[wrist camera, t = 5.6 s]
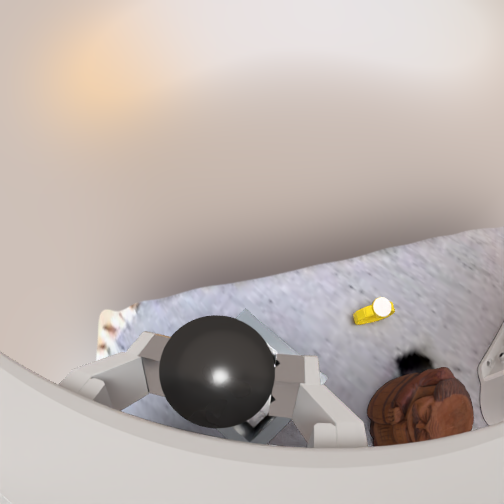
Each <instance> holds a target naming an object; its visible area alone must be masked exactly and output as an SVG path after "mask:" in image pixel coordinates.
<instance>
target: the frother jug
mask: <svg viewBox="0 0 504 504" xmlns="http://www.w3.org/2000/svg"><path fill="white" fill-rule="evenodd" d="M235 319H238V320H240V321H242V322H244V323H246V324H248V325H249V326H251V327H252V328H253V329H255V330H256V331H257V332H258V333H259V334H260V335H261V336H262V338H263V339H264V340H265V342H266V343H267V345H268V347H269V349H270V351H271V353H272V356H273V360H274V364H275V362H276V355H277V353H279V354H290V355H300V354H298V353H297V352H296V351H295V350H294V349H292V348H291V347H290V346H289V345H288V344H286V343H285V342H284V341H283V340H282V339H280V338H279V337H278V336H277V335H276V334H274V333H273V332H272V331H271V330H270V329H269V328H267V327H266V326H265V325H264V324H263V323H262V322H260V321H259V320H258V319H257V318H256V317H255V316H254V315H252V314H251V313H250V312H249V311H248V310H247V309H246V308H245V309H244V310H243V311H242V312H241V313H240V314H239V315H238V316H237V317H236V318H235ZM319 373H320V384H321V385H323V384H324V383H325V381H326V380H327V379H328V377H327V376H325V375H324V374H323V373H322V372H320V371H319ZM291 419H292V418H285V417H277V416H269V413H268V414H267V415H266V416H265V417H264V418H263V419H262V420H261V421H260V422H259V423H258V424H257V425H256V426H255V427H254V428H253V427H252V426H251V425H250V424H249V423H248V422H246V421H245V422H243V423H241V424H239V425H236V426H233V427H228V428H216V429H217V430H218V431H219V432H220V433H221V434H222V435H223V436H224V437H226V438H227V439H230V440H236V441H243V442H250V443H258V444H267V443H268V442H269V441H270V440H272V439H273V438H274V437H275V436H276V435H277V434H278V433H279V432H280V431H281V430H282V429H283V428H284V427H285V426H286V425H287V423H288V422H289V421H290V420H291Z"/></svg>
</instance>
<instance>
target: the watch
mask: <svg viewBox="0 0 504 504" xmlns="http://www.w3.org/2000/svg"><path fill="white" fill-rule="evenodd" d="M393 313H395V309H394V306H393V303H392V302H391V301H389V300H388V299H386V298H384V297H379V298H377V299H375V300H374V301H373V303H372V305H369V306H367V307H365V308H362V309H360V310H358V311H356V312H355V313H354V314H353V317H354V321H355V324H356V325H362V324H366V323H371V322H375V321H379V320H382V319H384V318H387V317H389V316H391V315H392V314H393Z"/></svg>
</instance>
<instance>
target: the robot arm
mask: <svg viewBox="0 0 504 504" xmlns="http://www.w3.org/2000/svg"><path fill="white" fill-rule="evenodd" d="M170 338H171V337H169V336H165V335H160V334H156V333H151V332H147V331H145V332H143V333H142V334H141V335H140V336H139V337H138V339H137V340H136V341H135V342H134V343H133V344H132V346H131V347H130V348H129V349H128V350H127V352H126V353H125V352H121V353H118V354H115V355H112V356H109V357H106V358H104V359H101V360H98V361H95V362H92V363H89V364H86V365H84V366H80V367H77V368H74V369H73V370H72V371H71V372H70V373H69V374H68V375H67V376H66V377H65V379H63V380H62V381H61V382H60V383H59V385H57V384H56V383H54V382H52V381H50V380H48V379H46V378H44V377H42V376H40V375H39V374H37V373H35V372H33V371H31V370H30V369H28V368H26V367H24V366H23V365H21V364H19V363H18V362H16V361H14V360H13V359H11V358H9V357H8V356H6V355H5V354H3V353H2V352H0V504H504V322H503V324H502V326H501V328H500V330H499V332H498V334H497V336H496V337H495V339H494V341H493V343H492V344H491V346H490V348H489V350H488V351H487V353H486V355H485V356H484V358H483V359H482V361H481V363H480V364H479V367H478V374H479V379H480V382H481V395H480V403H481V410H482V414H483V417H484V419H485V421H486V422H487V424H488V425H489V426H487V427H483V428H480V429H476V430H473V431H469V432H465V433H461V434H456V435H452V436H447V437H442V438H437V439H432V440H426V441H420V442H413V443H405V444H397V445H387V446H375V447H368V444H367V438H366V432H365V427H364V422H363V421H362V420H361V419H360V418H358V417H357V416H356V415H355V414H354V413H353V412H352V411H351V410H350V409H349V408H348V407H347V406H346V405H345V404H344V403H343V402H342V401H341V400H340V399H338V398H337V397H336V396H335V395H334V394H333V393H332V392H331V391H330V390H329V389H328V388H327V387H326V386H325V385H321V384H320V373H319V362H318V357H317V356H310V355H304V356H302V355H290V354H279V353H277V355H276V362H275V380H274V386H273V389H272V392H271V400H270V407H269V416H277V417H285V418H292V420H293V422H294V423H295V425H296V427H297V428H298V430H299V431H300V433H301V434H302V436H303V437H304V439H305V440H306V442H307V443H308V444H307V446H306V448H305V447H288V446H276V445H266V444H258V443H250V442H243V441H236V440H230V439H224V438H219V437H213V436H208V435H204V434H199V433H194V432H190V431H186V430H182V429H178V428H174V427H170V426H166V425H163V424H159V423H156V422H152V421H149V420H146V419H142V418H139V417H136V416H133V415H130V414H127V413H124V412H122V411H121V410H123V409H124V408H126V407H128V406H129V405H131V404H133V403H135V402H136V401H138V400H140V399H141V398H143V397H144V396H146V395H148V394H149V393H152V394H156V395H160V396H164V397H165V395H164V393H163V391H162V387H161V384H160V378H159V364H160V359H161V355H162V352H163V349H164V347H165V345H166V344H167V342H168V340H169V339H170Z"/></svg>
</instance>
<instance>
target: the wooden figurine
mask: <svg viewBox="0 0 504 504" xmlns="http://www.w3.org/2000/svg"><path fill="white" fill-rule="evenodd" d="M367 415H368V417H369V418H370V419H371V425H370V434H371V436H372V437H374V446H387V445H397V444H405V443H413V442H420V441H426V440H432V439H437V438H442V437H447V436H452V435H456V434H461V433H465V432H469V431H471V429H472V425H473V421H474V416H473V406H472V402H471V398H470V395H469V393H468V392H467V390H466V388H465V386H464V385H463V384H462V383H461V382H460V381H458V379H456V378H455V377H454V375H453V374H452V372H451V371H450V370H449V369H448V368H446V367H441V368H437V369H429V370H426V371H424V372H422V373H412V374H408V375H404V376H401V377H398V378H396V379H393V380H391V381H389V382H387V383H386V384H385V385H384V386H382V387H381V388H380V389H379V390H378V391H377V392H376V394H375V395H374V396H373V398H372V399H371V401H370V403H369V406H368V410H367Z"/></svg>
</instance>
